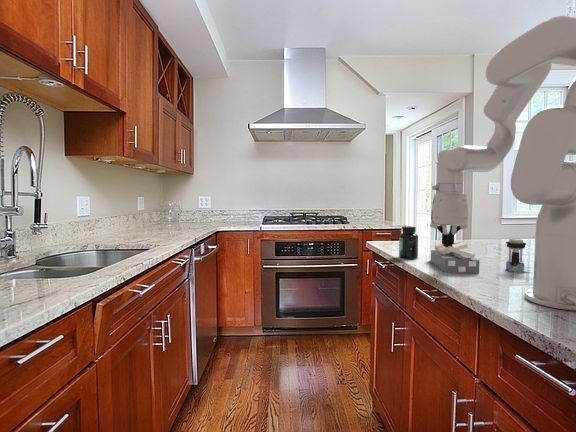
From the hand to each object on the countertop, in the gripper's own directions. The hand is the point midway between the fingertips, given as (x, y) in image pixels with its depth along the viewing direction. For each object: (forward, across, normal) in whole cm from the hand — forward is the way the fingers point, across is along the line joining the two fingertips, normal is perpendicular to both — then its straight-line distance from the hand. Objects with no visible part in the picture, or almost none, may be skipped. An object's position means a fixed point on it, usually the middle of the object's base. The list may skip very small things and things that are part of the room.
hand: (447, 246), depth 108 cm
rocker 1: (+2, +3, +12) cm, 12 cm away
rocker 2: (+2, +3, +6) cm, 7 cm away
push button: (+8, +21, +2) cm, 23 cm away
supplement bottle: (+8, -8, +20) cm, 23 cm away
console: (+8, +4, +6) cm, 10 cm away
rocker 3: (+2, +3, 0) cm, 4 cm away
